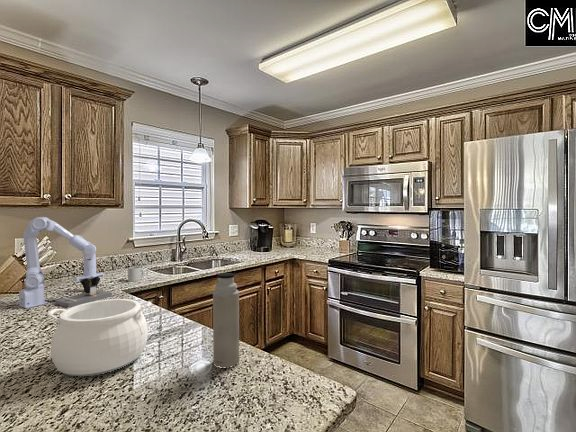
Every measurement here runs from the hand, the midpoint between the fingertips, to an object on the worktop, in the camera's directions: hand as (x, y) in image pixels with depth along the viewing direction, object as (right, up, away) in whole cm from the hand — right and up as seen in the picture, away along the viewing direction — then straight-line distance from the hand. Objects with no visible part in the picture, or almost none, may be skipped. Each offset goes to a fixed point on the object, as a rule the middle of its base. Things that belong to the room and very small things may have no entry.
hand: (90, 292), depth 169 cm
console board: (-1, -4, -3) cm, 5 cm away
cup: (+5, -3, +42) cm, 42 cm away
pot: (+47, -6, -68) cm, 83 cm away
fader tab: (0, -1, 0) cm, 1 cm away
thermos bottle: (+86, -5, -70) cm, 111 cm away
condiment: (-10, -3, +15) cm, 19 cm away
